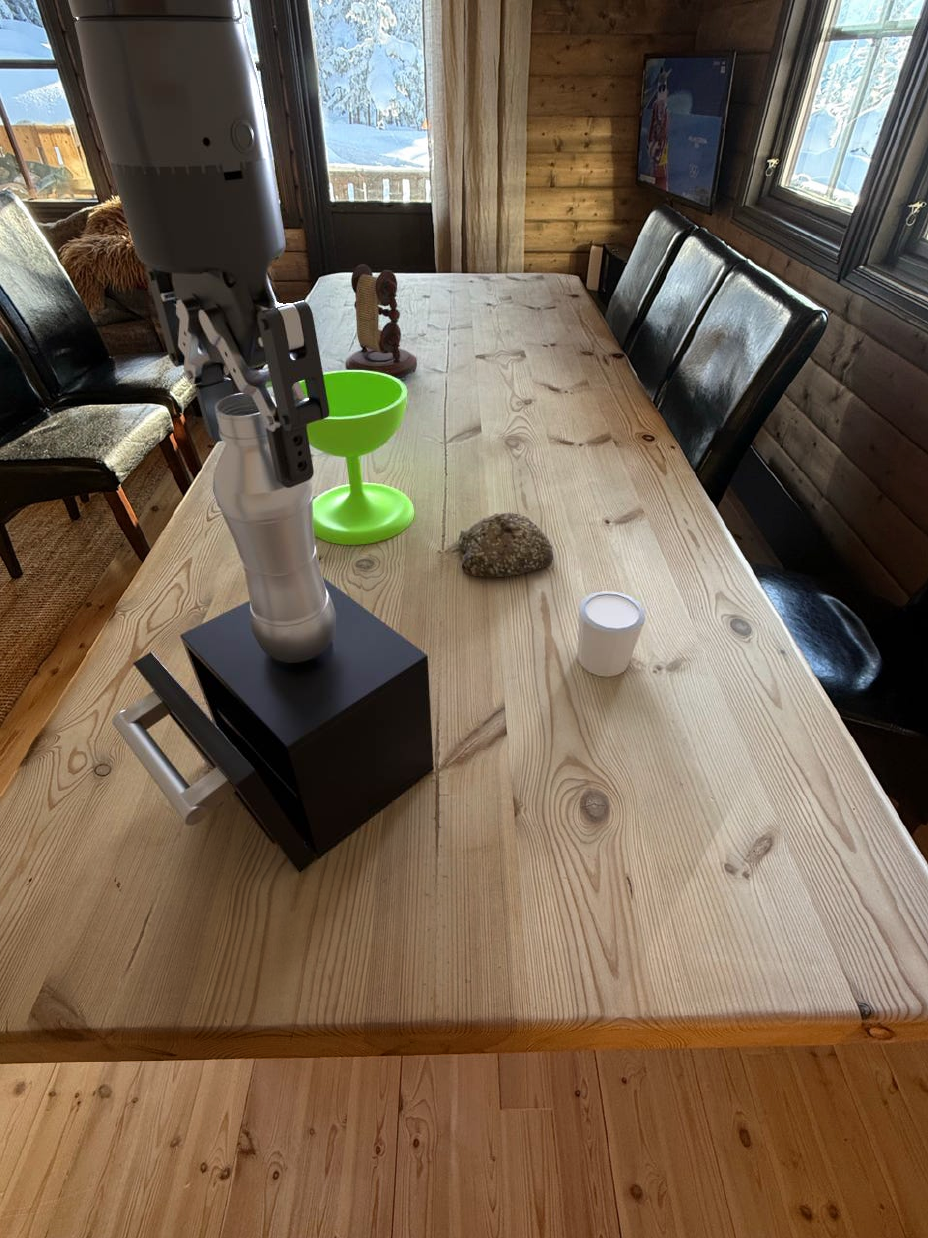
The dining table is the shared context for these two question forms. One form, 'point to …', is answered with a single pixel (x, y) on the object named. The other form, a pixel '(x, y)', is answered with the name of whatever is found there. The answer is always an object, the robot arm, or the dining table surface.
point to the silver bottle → (271, 538)
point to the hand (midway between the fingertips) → (259, 458)
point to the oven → (321, 716)
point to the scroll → (374, 342)
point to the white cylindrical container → (608, 632)
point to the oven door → (217, 752)
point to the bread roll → (504, 546)
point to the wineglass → (353, 428)
